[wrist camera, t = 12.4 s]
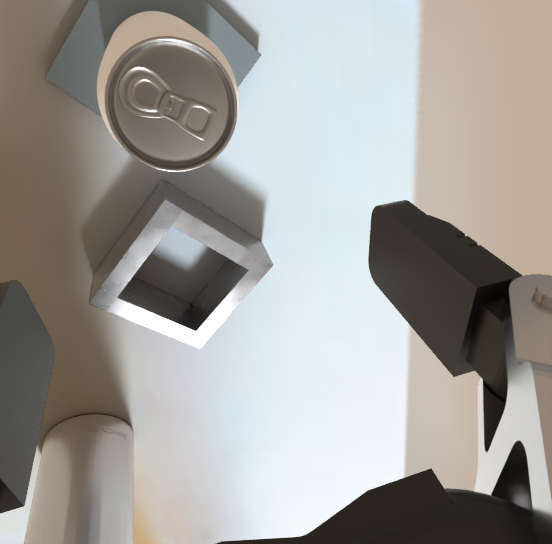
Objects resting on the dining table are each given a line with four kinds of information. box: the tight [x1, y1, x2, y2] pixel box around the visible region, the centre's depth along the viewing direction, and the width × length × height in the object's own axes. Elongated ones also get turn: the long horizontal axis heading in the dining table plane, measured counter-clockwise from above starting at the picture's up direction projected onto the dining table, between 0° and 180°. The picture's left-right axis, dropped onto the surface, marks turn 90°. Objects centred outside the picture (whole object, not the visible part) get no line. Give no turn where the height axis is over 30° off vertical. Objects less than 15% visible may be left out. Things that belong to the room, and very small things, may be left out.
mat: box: [45, 0, 261, 117], centre depth 28 cm, size 10×10×1 cm
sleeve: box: [89, 179, 273, 348], centre depth 35 cm, size 11×11×4 cm
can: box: [97, 11, 239, 172], centre depth 23 cm, size 6×6×12 cm
